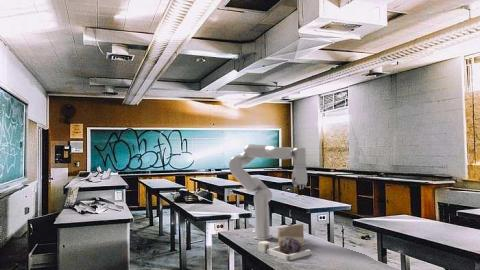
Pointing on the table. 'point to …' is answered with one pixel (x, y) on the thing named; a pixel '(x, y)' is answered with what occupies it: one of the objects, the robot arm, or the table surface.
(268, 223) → the robot arm
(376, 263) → the table surface
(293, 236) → the shelf
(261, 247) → the letter cube
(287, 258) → the corral
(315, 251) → the table surface
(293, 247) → the rock
